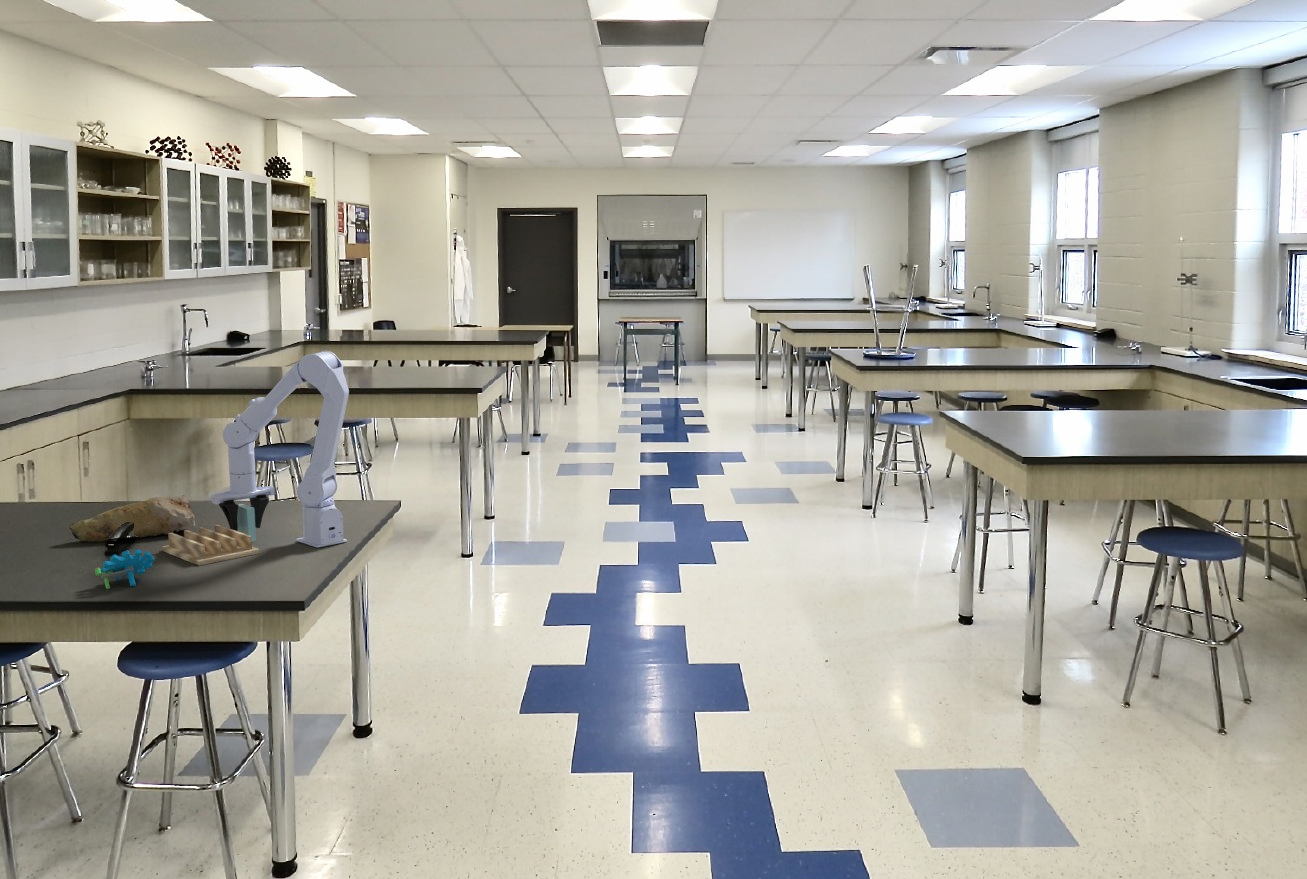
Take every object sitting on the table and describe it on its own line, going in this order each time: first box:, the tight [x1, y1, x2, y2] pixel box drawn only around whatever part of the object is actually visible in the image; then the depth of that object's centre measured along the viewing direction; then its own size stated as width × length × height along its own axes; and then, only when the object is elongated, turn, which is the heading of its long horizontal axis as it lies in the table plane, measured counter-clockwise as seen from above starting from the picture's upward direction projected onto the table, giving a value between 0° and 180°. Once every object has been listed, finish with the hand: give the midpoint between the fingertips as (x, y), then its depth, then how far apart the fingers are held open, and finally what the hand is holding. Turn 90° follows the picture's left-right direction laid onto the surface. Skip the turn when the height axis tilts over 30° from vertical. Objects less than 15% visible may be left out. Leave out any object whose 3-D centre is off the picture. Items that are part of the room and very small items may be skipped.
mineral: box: [68, 494, 197, 543], centre depth 264 cm, size 26×9×10 cm
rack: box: [161, 524, 261, 566], centre depth 251 cm, size 18×14×4 cm
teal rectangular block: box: [237, 503, 257, 543], centre depth 262 cm, size 6×2×8 cm, turn 47°
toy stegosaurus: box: [94, 549, 156, 590], centre depth 226 cm, size 11×6×10 cm
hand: (245, 529), depth 262 cm, fingers open, 5 cm apart
